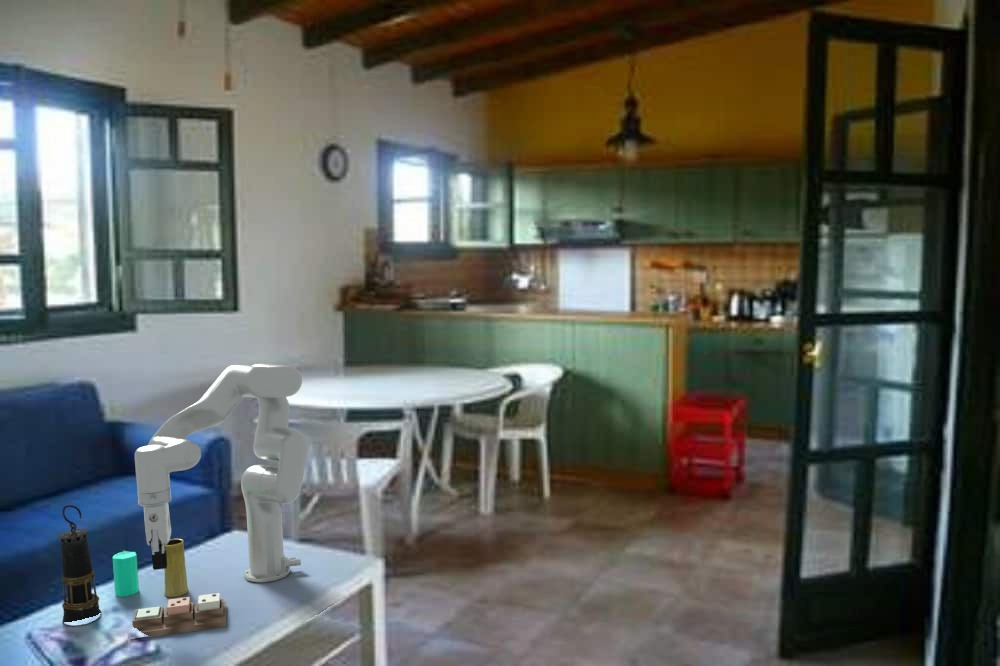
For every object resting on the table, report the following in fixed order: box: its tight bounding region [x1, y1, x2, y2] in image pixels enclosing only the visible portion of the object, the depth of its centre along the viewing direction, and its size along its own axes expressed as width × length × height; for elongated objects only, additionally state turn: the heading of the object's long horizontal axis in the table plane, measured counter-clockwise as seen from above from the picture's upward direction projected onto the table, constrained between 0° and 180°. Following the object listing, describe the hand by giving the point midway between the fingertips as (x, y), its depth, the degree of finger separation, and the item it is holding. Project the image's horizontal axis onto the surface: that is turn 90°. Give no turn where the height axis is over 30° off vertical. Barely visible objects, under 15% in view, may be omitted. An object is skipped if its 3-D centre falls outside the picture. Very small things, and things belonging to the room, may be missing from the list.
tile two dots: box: [197, 592, 221, 611], centre depth 222 cm, size 5×5×3 cm
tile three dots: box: [166, 596, 191, 615], centre depth 220 cm, size 5×5×3 cm
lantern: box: [57, 504, 102, 623], centre depth 222 cm, size 9×9×30 cm
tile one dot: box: [136, 605, 161, 620], centre depth 218 cm, size 5×5×3 cm
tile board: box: [131, 597, 227, 638], centre depth 220 cm, size 22×12×4 cm, turn 107°
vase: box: [163, 538, 189, 598], centre depth 238 cm, size 6×6×14 cm
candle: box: [112, 550, 140, 597], centre depth 239 cm, size 6×6×12 cm
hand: (160, 567), depth 218 cm, fingers closed
